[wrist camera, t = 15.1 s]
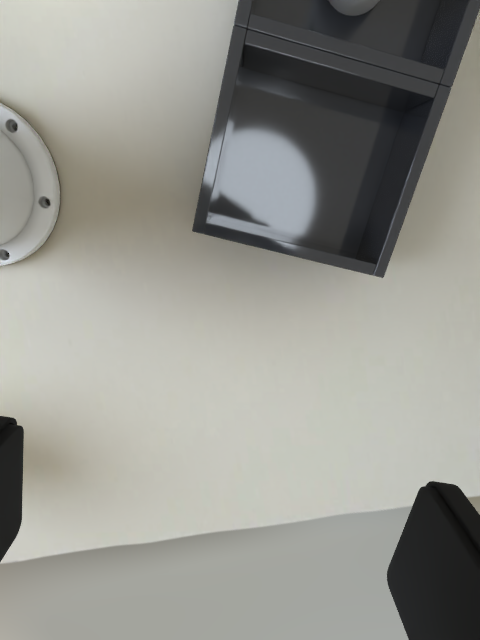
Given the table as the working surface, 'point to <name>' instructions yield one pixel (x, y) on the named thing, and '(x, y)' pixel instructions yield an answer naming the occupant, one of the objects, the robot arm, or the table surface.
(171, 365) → the table surface
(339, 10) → the tube
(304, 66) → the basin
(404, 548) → the robot arm
